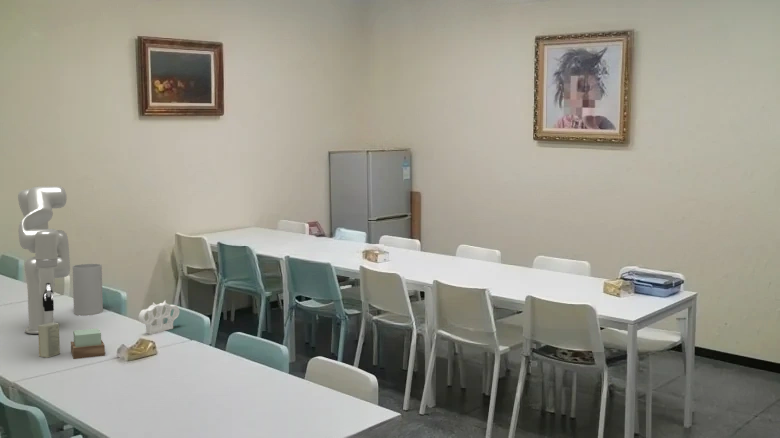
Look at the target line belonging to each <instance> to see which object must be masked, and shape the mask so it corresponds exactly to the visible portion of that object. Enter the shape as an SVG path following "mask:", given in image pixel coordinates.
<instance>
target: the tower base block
mask: <svg viewBox="0 0 780 438" xmlns="http://www.w3.org/2000/svg"><path fill="white" fill-rule="evenodd" d="M103 341H104V340H103V339H101V345H94V346H84V347H75V344H74V341H70V353H71V355H72V358H73V360H78V359H86V358H88V359H89V358H95V357H105V355H106V349H105V347H106V346H105V343H104V342H103Z"/></svg>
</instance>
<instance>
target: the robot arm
mask: <svg viewBox="0 0 780 438" xmlns="http://www.w3.org/2000/svg"><path fill="white" fill-rule="evenodd" d="M67 199H68V197H67V193H66V190H65V188H64V187H62V186H61V185H42V186H41V185H40V186H39V185H38V186H33V187H31V188H26V189H22V190H20V191H19V192H18V196H17V200H18V205H19V209H20V211H21V213H22V215H23V218H22V219H21V221H20V222H19V224H18V241H19V246H20V247H21V248H22V250H23V249H24V250H28V251H29V253H33V254H35V256H31V257H29V258H27V259H26V260H25V262H24V265H23V267H24V272H25V273H24V274H25V277H26V288H27V309H28V310H27V311H28V313H27V314H28V315H27V316H28V326H27V327H26V328H24V333H27V334H32V335H33V334H35V335H36V334H37V335H39V332H38V325H42V324H45V323H49V322H54V310H55V309H54V307H55V306H54V303H55V302H54V296H53V295H54V294H55V286H56V285H55V284H56V283H55V281H56V280H55V279H58V278H59V279H61V278H65V277H68V276H69V275H70V272H71V261H70V260H71V258H70V246H69V245H70V244H69V237H68V234H67V233H66V231H64V230H61V229H54V228H49V221H50V220H52V218H53V214H54V213H53V209H62V208H63V207H65V206H66V204H67Z"/></svg>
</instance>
